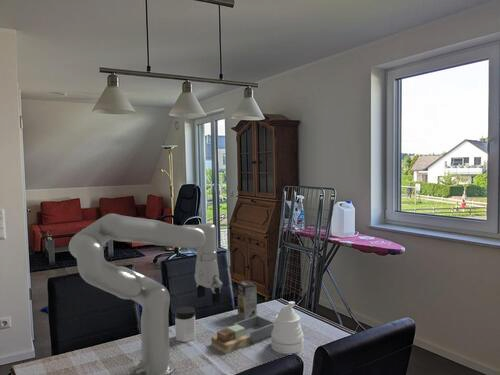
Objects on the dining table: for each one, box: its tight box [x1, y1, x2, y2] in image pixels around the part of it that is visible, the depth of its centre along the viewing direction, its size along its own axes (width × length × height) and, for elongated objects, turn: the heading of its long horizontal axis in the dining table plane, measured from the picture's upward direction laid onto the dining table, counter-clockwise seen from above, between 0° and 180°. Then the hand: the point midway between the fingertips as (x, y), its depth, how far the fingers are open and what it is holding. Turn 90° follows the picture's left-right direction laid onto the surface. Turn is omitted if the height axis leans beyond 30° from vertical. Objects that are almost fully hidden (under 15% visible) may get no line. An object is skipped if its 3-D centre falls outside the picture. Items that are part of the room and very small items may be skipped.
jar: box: [174, 306, 197, 343], centre depth 167 cm, size 9×8×12 cm
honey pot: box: [270, 300, 305, 355], centre depth 157 cm, size 13×13×18 cm
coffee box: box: [236, 279, 258, 320], centre depth 189 cm, size 9×6×16 cm
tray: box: [232, 314, 275, 345], centre depth 168 cm, size 14×12×5 cm
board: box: [210, 334, 251, 354], centre depth 160 cm, size 12×10×3 cm
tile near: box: [216, 327, 235, 343], centre depth 158 cm, size 5×5×3 cm
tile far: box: [227, 324, 245, 339], centre depth 162 cm, size 5×5×3 cm
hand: (208, 299), depth 152 cm, fingers open, 9 cm apart
